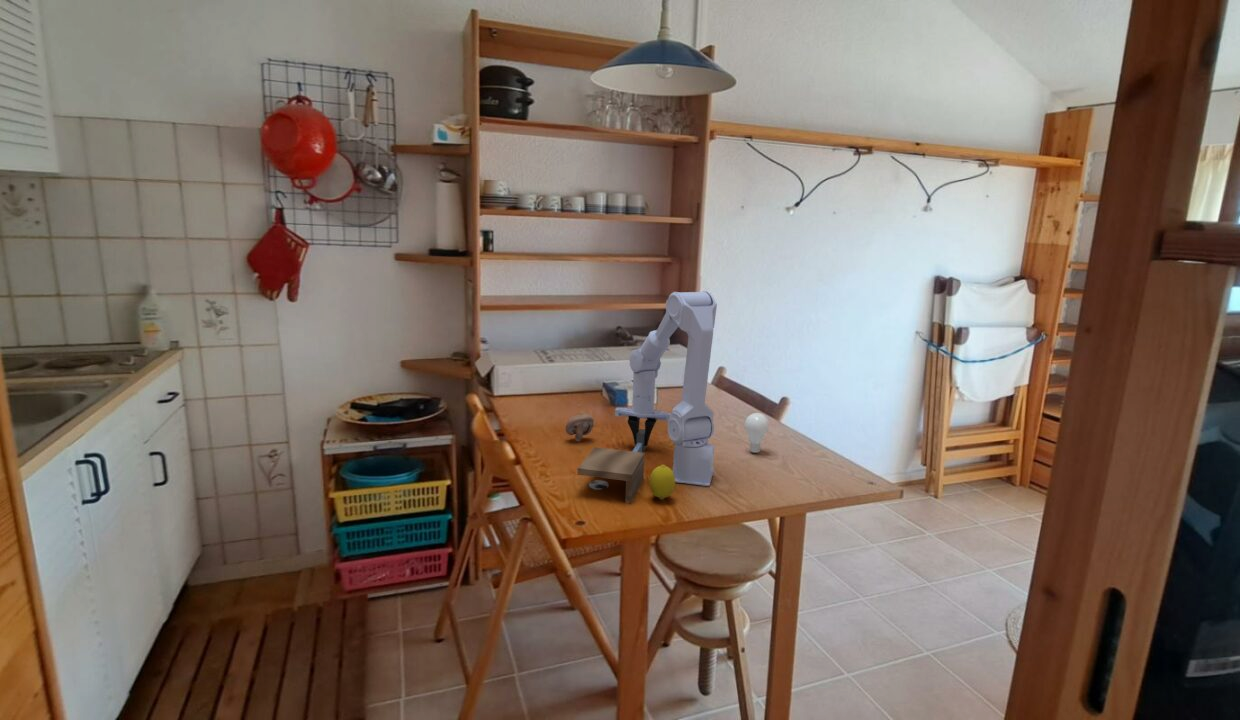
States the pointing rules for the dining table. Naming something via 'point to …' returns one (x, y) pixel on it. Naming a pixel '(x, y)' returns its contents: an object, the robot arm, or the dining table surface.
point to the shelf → (615, 467)
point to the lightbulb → (756, 430)
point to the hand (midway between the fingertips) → (641, 444)
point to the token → (598, 485)
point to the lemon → (662, 481)
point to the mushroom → (579, 425)
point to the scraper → (640, 441)
